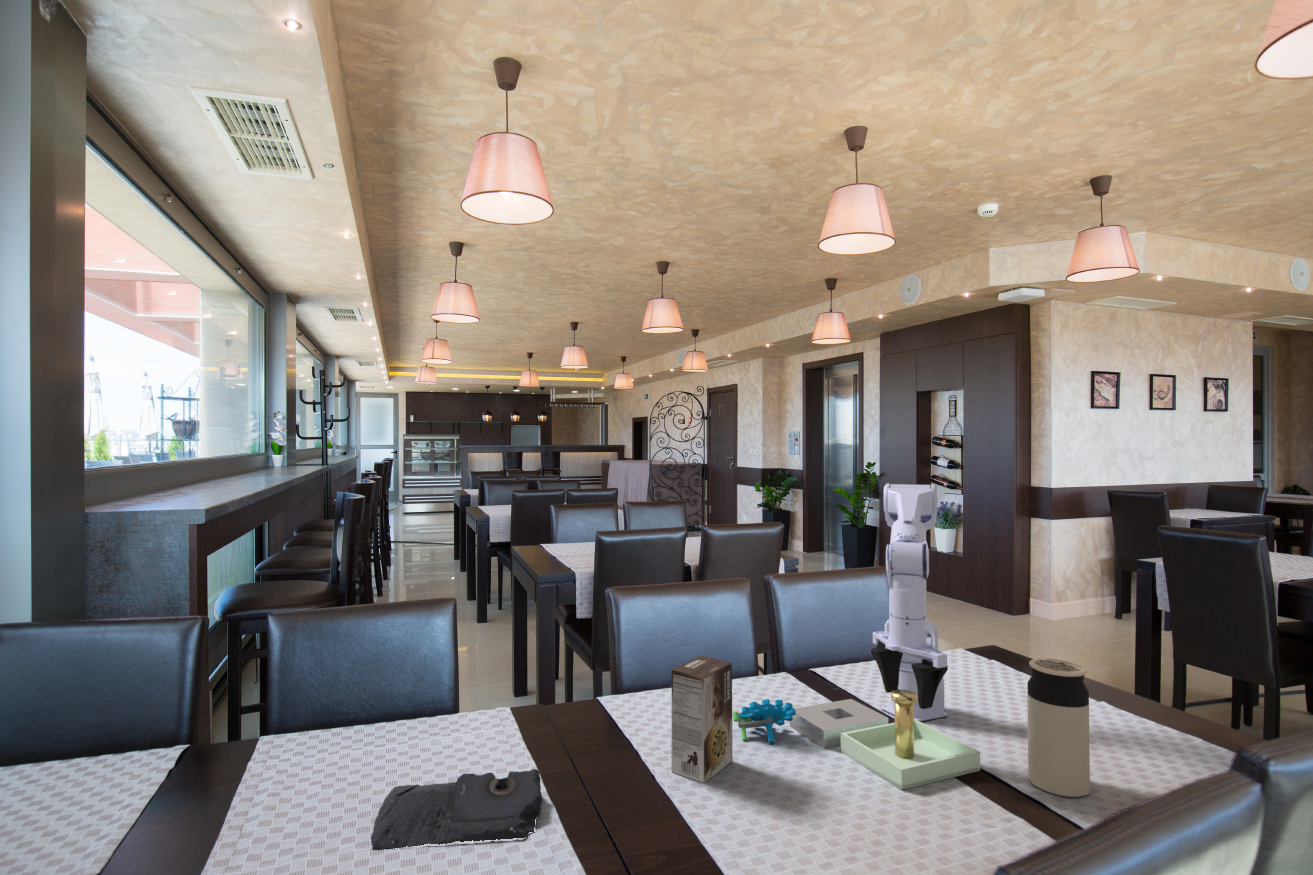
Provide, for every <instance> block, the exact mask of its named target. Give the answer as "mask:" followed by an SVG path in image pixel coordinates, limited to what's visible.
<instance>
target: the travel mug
mask: <svg viewBox="0 0 1313 875" xmlns="http://www.w3.org/2000/svg"><path fill="white" fill-rule="evenodd" d="M1028 664H1029V666H1030V668H1031V674H1032V675H1031V676H1030V677H1029V679H1028V681H1027V764H1028V765H1027V772H1028V773H1027V777H1028V780H1029V781H1030V783H1032V784H1033V785H1034V786H1036V787H1037V788H1039V789H1040V790H1043V791H1045V792H1047V793H1049V794H1052V795H1056V796H1059V797H1064V798H1067V797H1068V798H1079V797H1084V796H1086V795H1089V794H1090V792H1091V778H1090V775H1091V772H1090V771H1091V768H1090V767H1091V765H1090V764H1091V762H1090V757H1091V756H1090V753H1091V752H1090V751H1091V750H1090V694H1089V693H1090V691H1089V690H1088V688H1087V686H1086V684H1085V683H1084V680H1085V679H1084V678H1085V676H1086V674H1087V672H1088V671H1087V669H1086V668H1085V667H1084V666H1083V665H1081V664H1079V663H1075V662H1072V661H1069V660H1063V659H1058V658H1048V657H1043V658H1041V657H1040V658H1033V659H1031V660H1030V661H1029V662H1028Z"/></svg>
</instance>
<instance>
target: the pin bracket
mask: <svg viewBox="0 0 1313 875" xmlns="http://www.w3.org/2000/svg"><path fill="white" fill-rule="evenodd" d="M795 711H796V715H793V716H792V717H793V720H792V721H789V727H790V728H792V729H793V730H795V731H797V732H798V733H799V734H801V735H802V736H804V737H806V738H807V739H808V740H810V741H811V742H813V743H815V744H816V745H817V746H819V747H820V748H822V749H827V748H832V747H836V746H841V733H844V732H849V731H854V730H859V729H865V728H870V727H875V726H880V725H885V724H889V717H887V716H885V715H884V714H881V713H880V712H877V711H876V710H874V709H872V708H870V707H868V706H866V705H864V704H863V703H860V702H859V701H856V700H855V699H852V698H849V699H848V698H847V699H842V700H835V701H831V702H826V703H825V702H824V703H820V704H813V705H807V706H802V707H797V708H795Z"/></svg>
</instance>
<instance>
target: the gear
mask: <svg viewBox="0 0 1313 875" xmlns="http://www.w3.org/2000/svg"><path fill="white" fill-rule="evenodd" d="M783 701H784V700H783V699H775V700H774V702H775V704H772V703H771V702H770V699H769V698H767V699H763V700H761V703H762V704H759V703H758V702H756V701H751V702H750V703H749V707H748V706H742V707H741V712H737V711H735V712H732V721H733V722H734V723H738V728H739V729H741V737H742V738H741V739H742V741H743V740H745V741H747V740H748V738H747V729H752V728H762V727H765V728H766V733H767V734H766V735H767V736H766V737H767V743H768V744H775V737H774V729H773V727H774V726H773V725H774V724H776V725H777V726H778V727H781V726H784V725H785V721H787V722H790V721H792V720H793V717H792V716H793V715H796V711H795V709H796V708H795V707H794V705H793V703H791V702H785V703H784V702H783ZM745 741H744V742H745Z"/></svg>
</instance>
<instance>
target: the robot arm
mask: <svg viewBox="0 0 1313 875" xmlns="http://www.w3.org/2000/svg"><path fill="white" fill-rule="evenodd" d="M883 512H884V518H885V522H886V525H887V526H888V527H890V528H891V530H890V541H889V542H890V543H888V544H886V548H885V569H886V573H887V587H888V588H889V589H888V590H889V591H888V592H889V593H888V595H889V596H888V597H889V598H888V600H889V601H888V603H889V604H888V606H889V608H888V610H889V611H888V613H889V614H888V615H889V617H888V620H886V622H885V624H884V630H879V631H873V632H872V644H874V645H876V647H872V648H870V653H871V655H872V657H873V658H874V660H875V663H876V664H877V666H878V669H879V673H880V676H881V679H882V683H883V687H884V690H885V692H886V693H887V694H888V693H890V694H891V691H892V690H895V689H904V690H910V691H913V692H915V693H916V694H917V703H915V704H914V719H916V720H918V721H920V722H925V721H929V720H933V719H940V718H945V717H948V716H949V714H948V712H946V711H945V680H944V676H945V674H947V671H948V669H949V665H948V654H947V653H945V652H942V651H940V650H939V637H938V628H937V627H936V626H937V625H936V624H935V623H933V622H932V621H931V620H929V619H928V618H927V579H928V577H929V574H930V549H929V546H928V542H927V531H928V530H931V529H934V528H935V527H936V523H937V514H938V487H937V486H936V485H935V484H934V483H932V484H905V483H904V484H896V483H893V484H892V483H891V484H890V483H885V485H884V486H883ZM924 574H925V575H926V577H925V575H924ZM890 699H891V698H890ZM880 708H881V710H883V711H885V712H887V713H889V714H890V715H893V716H895V701H893V700H892V699H891V700H890V704H886V705H885V704H884V705H881V707H880Z"/></svg>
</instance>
